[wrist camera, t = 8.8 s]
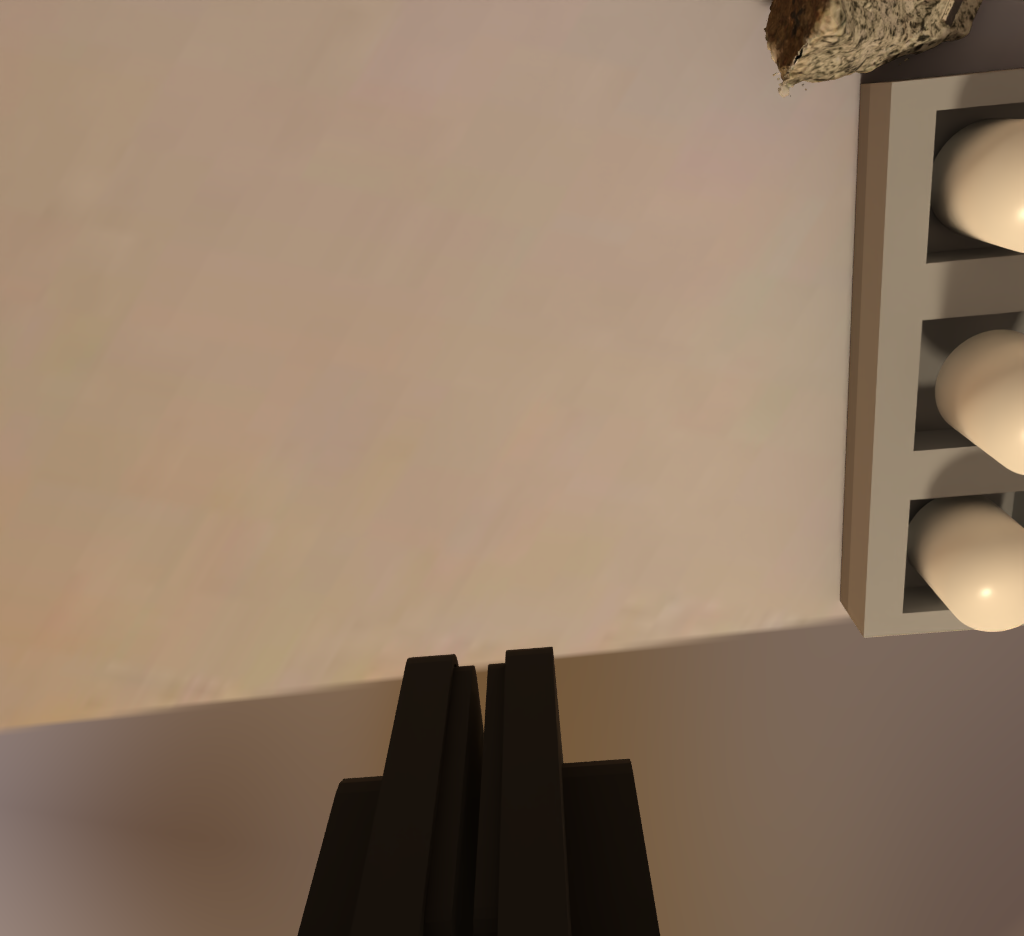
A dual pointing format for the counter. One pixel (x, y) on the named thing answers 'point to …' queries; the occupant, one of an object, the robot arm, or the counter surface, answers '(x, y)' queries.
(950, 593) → the button far
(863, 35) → the rock sample
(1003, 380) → the button mid
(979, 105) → the button board
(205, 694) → the counter surface
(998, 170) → the button near
